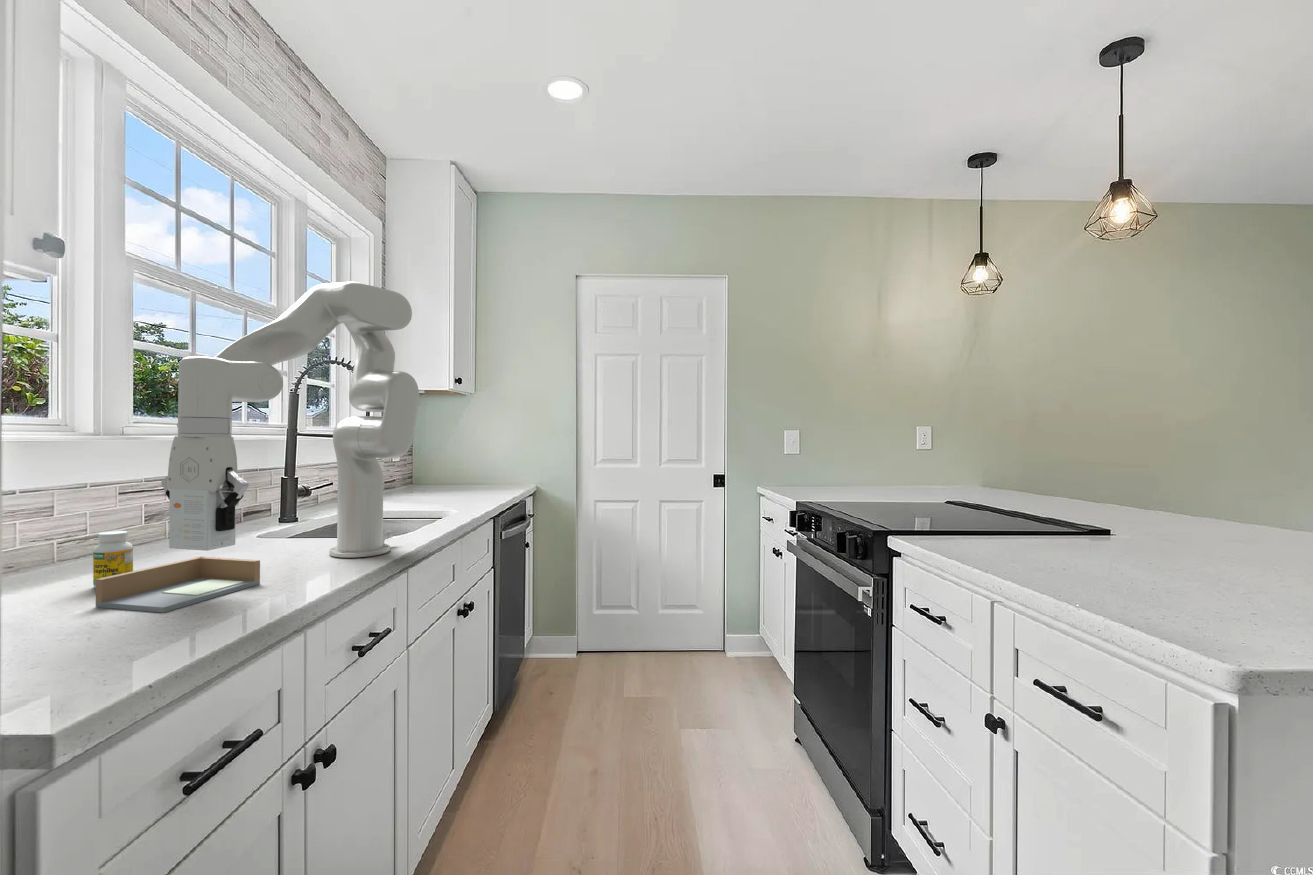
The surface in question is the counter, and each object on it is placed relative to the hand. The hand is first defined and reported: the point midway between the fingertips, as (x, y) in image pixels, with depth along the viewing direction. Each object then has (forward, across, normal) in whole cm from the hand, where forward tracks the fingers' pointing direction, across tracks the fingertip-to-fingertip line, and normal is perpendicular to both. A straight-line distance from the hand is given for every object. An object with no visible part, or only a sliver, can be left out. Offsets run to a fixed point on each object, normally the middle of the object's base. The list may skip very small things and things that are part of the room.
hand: (203, 528), depth 105 cm
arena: (+11, -2, -2) cm, 12 cm away
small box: (+3, 0, 0) cm, 3 cm away
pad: (+11, 0, 0) cm, 11 cm away
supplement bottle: (+11, -20, 0) cm, 23 cm away
